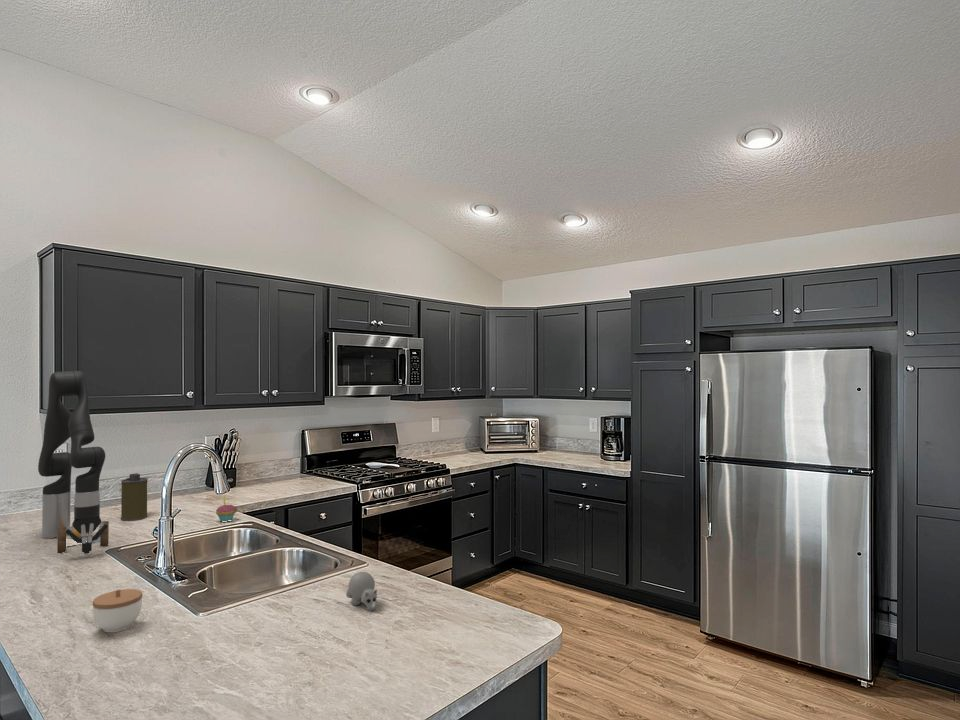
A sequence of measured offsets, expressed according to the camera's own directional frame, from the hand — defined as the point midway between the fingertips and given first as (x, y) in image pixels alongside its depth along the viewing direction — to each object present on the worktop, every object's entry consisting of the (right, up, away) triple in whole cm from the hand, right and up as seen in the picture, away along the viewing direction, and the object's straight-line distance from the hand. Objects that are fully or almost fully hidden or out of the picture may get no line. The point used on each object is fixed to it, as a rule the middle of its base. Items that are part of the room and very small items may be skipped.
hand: (86, 553), depth 206 cm
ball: (-20, +1, +26) cm, 33 cm away
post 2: (-3, -2, +14) cm, 15 cm away
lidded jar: (+47, 0, -58) cm, 75 cm away
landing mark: (-16, -2, +21) cm, 27 cm away
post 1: (-13, -2, +6) cm, 15 cm away
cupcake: (+27, -3, +51) cm, 58 cm away
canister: (-17, -4, +57) cm, 60 cm away
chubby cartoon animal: (+107, 0, -46) cm, 116 cm away
